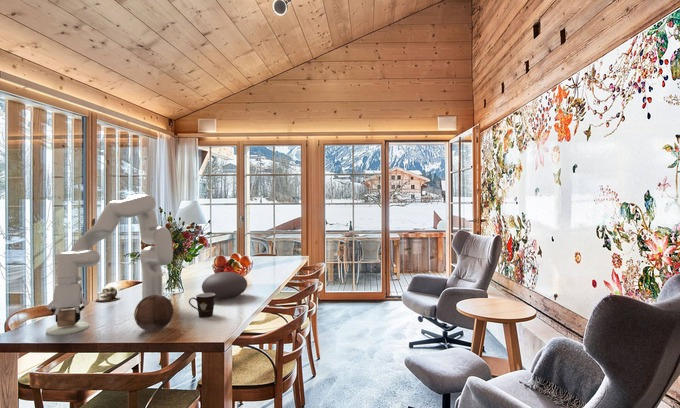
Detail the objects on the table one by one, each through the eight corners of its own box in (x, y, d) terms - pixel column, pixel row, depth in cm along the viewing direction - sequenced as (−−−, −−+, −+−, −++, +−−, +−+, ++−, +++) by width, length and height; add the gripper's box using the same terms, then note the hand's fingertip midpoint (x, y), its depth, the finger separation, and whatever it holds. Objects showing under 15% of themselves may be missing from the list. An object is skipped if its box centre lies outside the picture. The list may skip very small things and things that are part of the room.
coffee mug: (219, 314, 187) (219, 293, 187) (206, 319, 180) (205, 297, 180) (201, 311, 192) (200, 291, 192) (187, 316, 184) (187, 295, 184)
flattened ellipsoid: (202, 295, 228) (202, 270, 228) (245, 292, 236) (245, 267, 236) (200, 305, 205) (200, 277, 205) (248, 301, 212) (248, 274, 212)
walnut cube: (78, 321, 170) (78, 307, 170) (74, 325, 164) (74, 311, 164) (62, 323, 168) (62, 309, 168) (57, 327, 162) (57, 312, 162)
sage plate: (92, 322, 176) (92, 320, 176) (83, 332, 161) (83, 329, 161) (53, 326, 170) (53, 323, 170) (40, 337, 156) (40, 334, 156)
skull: (109, 301, 211) (98, 286, 213) (98, 312, 213) (87, 298, 215) (126, 295, 223) (116, 282, 224) (115, 306, 225) (105, 293, 227)
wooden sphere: (174, 323, 173) (174, 290, 174) (171, 333, 159) (171, 297, 159) (137, 327, 169) (137, 292, 169) (131, 338, 154) (130, 300, 155)
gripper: (93, 277, 173) (93, 318, 172) (47, 280, 167) (47, 322, 166) (88, 280, 165) (89, 322, 165) (40, 283, 159) (40, 327, 159)
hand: (68, 322), depth 166 cm, fingers closed on walnut cube, 5 cm apart
